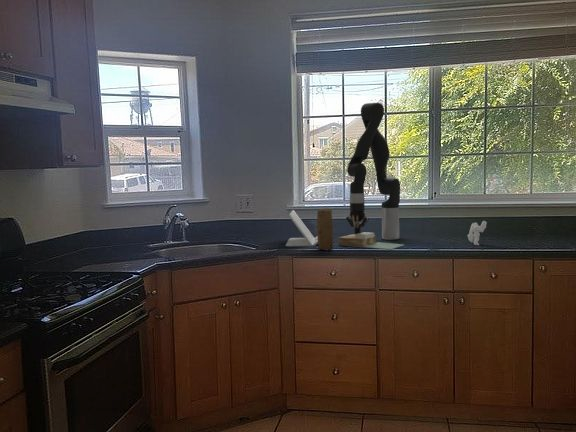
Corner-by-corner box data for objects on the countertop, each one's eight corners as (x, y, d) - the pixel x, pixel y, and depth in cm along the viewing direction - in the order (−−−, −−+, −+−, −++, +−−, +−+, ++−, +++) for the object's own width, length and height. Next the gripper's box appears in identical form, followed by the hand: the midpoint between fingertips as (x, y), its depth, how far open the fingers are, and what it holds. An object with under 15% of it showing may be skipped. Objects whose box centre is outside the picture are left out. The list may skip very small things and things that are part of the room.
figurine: (488, 244, 258) (488, 220, 256) (481, 246, 255) (481, 221, 253) (470, 242, 266) (471, 219, 265) (464, 243, 263) (464, 220, 262)
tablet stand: (285, 246, 272) (284, 214, 270) (289, 239, 297) (288, 209, 295) (320, 246, 270) (319, 213, 268) (321, 239, 295) (320, 209, 293)
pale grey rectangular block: (364, 235, 273) (364, 232, 273) (374, 236, 269) (374, 232, 269) (355, 238, 266) (355, 234, 266) (365, 239, 262) (365, 235, 262)
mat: (377, 242, 274) (377, 242, 274) (404, 245, 264) (404, 244, 264) (362, 247, 262) (362, 246, 262) (390, 249, 252) (390, 249, 252)
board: (352, 241, 281) (352, 234, 281) (375, 243, 272) (375, 235, 272) (338, 245, 270) (338, 237, 270) (361, 247, 261) (361, 239, 261)
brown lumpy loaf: (333, 250, 256) (332, 209, 253) (318, 250, 256) (317, 210, 254) (332, 246, 266) (331, 207, 264) (317, 247, 266) (316, 208, 264)
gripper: (372, 201, 267) (372, 235, 269) (350, 201, 276) (350, 233, 278) (364, 202, 262) (364, 237, 263) (342, 202, 270) (342, 235, 272)
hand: (357, 235), depth 271 cm, fingers closed
